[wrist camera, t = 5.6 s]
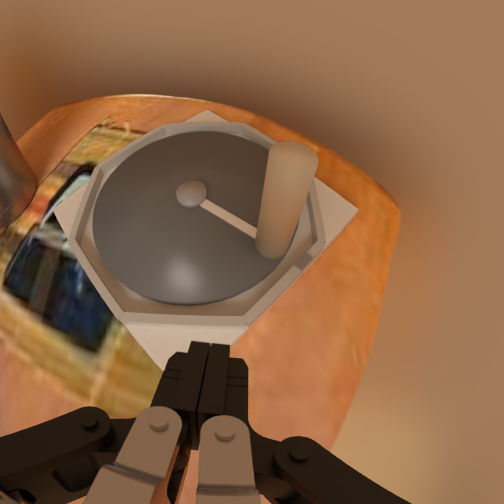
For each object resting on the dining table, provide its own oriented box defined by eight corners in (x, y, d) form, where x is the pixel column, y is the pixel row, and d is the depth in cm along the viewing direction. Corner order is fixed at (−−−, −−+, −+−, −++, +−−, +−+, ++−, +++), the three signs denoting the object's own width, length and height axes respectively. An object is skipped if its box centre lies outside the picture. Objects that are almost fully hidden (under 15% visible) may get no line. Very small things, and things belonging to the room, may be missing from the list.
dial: (63, 227, 22) (13, 154, 13) (186, 120, 30) (180, 47, 21) (214, 356, 18) (197, 323, 9) (330, 188, 26) (364, 105, 17)
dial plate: (58, 217, 24) (46, 201, 22) (207, 118, 33) (207, 100, 30) (185, 391, 18) (177, 391, 15) (353, 218, 26) (363, 200, 24)
